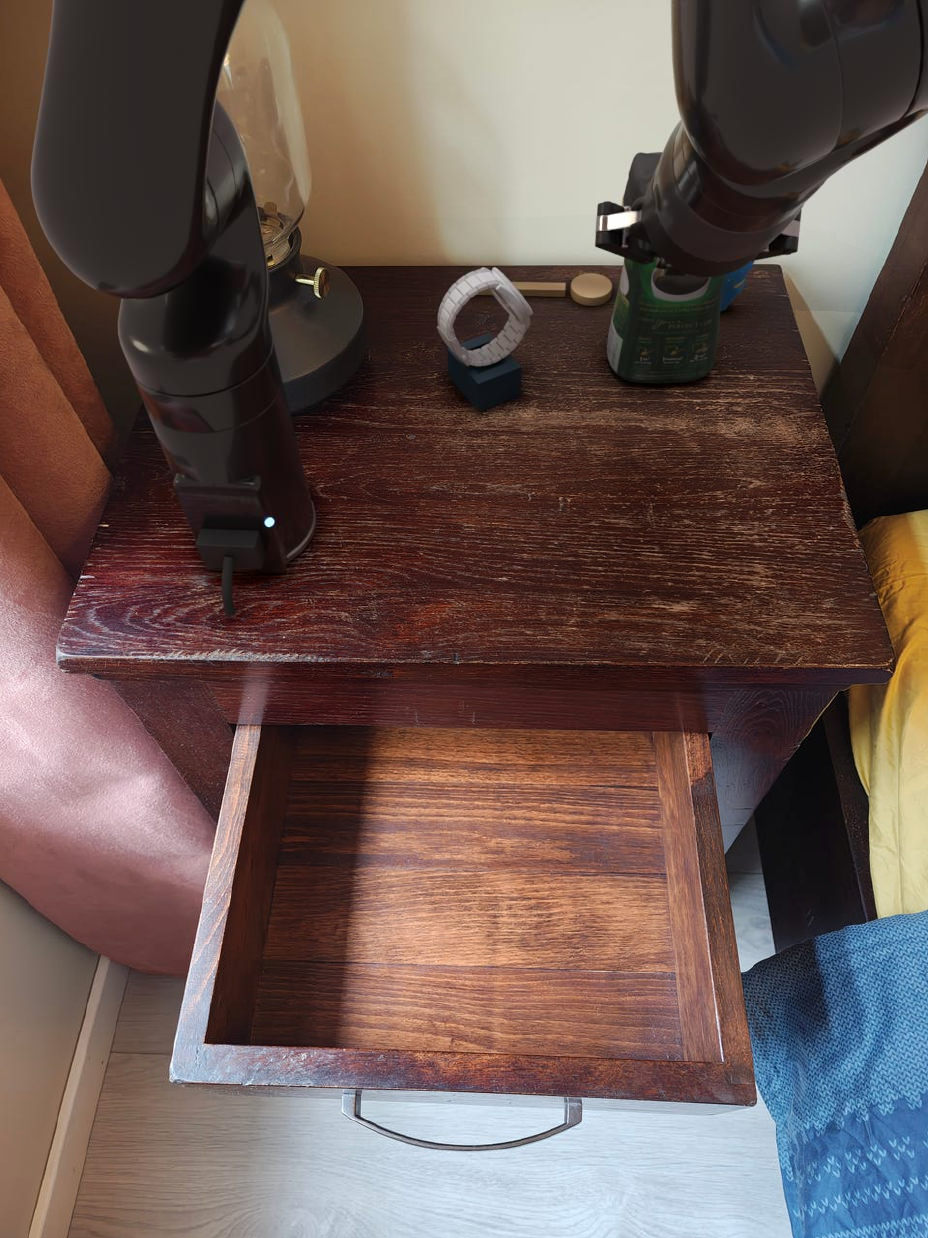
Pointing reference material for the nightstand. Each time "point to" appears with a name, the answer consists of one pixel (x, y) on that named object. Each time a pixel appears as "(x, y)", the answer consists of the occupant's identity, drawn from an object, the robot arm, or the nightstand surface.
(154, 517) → the nightstand surface
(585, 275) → the spoon
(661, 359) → the coffee jar
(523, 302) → the watch
